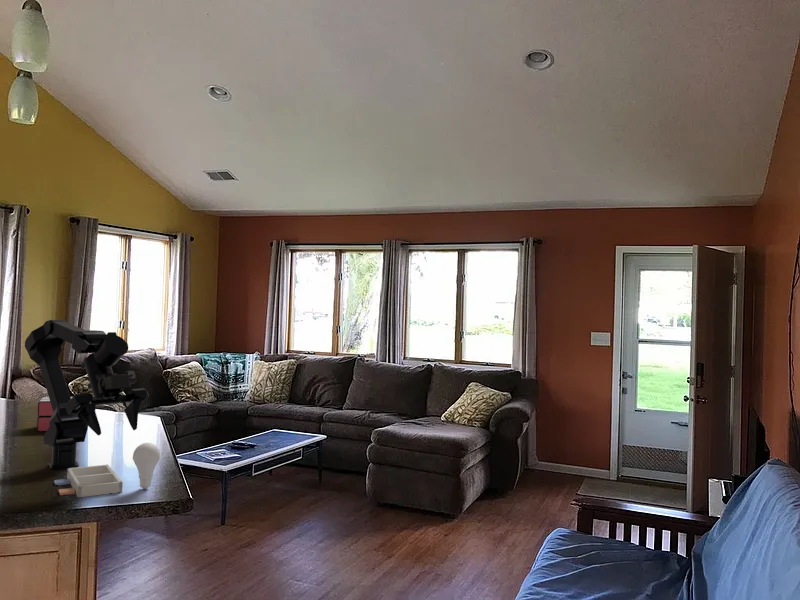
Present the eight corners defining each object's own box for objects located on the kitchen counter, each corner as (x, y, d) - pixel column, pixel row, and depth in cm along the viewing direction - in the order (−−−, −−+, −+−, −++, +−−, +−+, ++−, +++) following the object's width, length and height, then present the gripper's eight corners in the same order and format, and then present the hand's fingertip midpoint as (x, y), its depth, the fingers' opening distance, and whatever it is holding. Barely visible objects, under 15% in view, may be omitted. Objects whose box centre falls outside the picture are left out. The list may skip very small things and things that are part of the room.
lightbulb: (162, 485, 162) (164, 440, 162) (153, 493, 156) (155, 446, 156) (136, 485, 162) (138, 439, 162) (127, 492, 156) (129, 445, 156)
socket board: (52, 479, 163) (53, 469, 163) (107, 473, 170) (108, 464, 170) (62, 499, 148) (62, 488, 148) (122, 492, 155) (122, 482, 155)
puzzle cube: (70, 431, 220) (72, 401, 220) (36, 432, 217) (38, 401, 217) (73, 425, 230) (74, 396, 230) (40, 426, 226) (42, 397, 226)
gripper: (78, 361, 155) (96, 421, 149) (150, 357, 170) (168, 412, 164) (57, 384, 160) (74, 443, 155) (129, 378, 175) (146, 432, 170)
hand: (117, 432), depth 161 cm, fingers open, 9 cm apart
